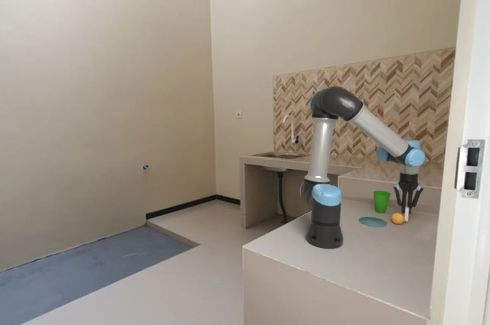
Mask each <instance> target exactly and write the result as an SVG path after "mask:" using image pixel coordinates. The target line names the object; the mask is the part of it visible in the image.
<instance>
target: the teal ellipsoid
mask: <svg viewBox="0 0 490 325" xmlns="http://www.w3.org/2000/svg"><path fill="white" fill-rule="evenodd" d="M358 222H359V223H360V224H362V225H365V226H368V227H375V228H382V227H386V226H387V225H388V223H387V221H385V220H384V219H381V218H378V217H374V216H373V217H372V216H362V217H360V218H358Z"/></svg>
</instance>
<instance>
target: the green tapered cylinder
mask: <svg viewBox="0 0 490 325" xmlns="http://www.w3.org/2000/svg"><path fill="white" fill-rule="evenodd" d="M372 193H373V202H374V210H375V213H377V214H386V213H387V212H386V211H387V208H388V204H389V200H390V197H391V195H392V193H391V192H389V191H385V190H373V191H372Z"/></svg>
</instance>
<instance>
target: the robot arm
mask: <svg viewBox="0 0 490 325" xmlns="http://www.w3.org/2000/svg"><path fill="white" fill-rule="evenodd" d="M309 107H310V110H311V120H312V121H313V131H312V139H311V148H310V154H309V155H310V156H309V162H308V171H307V174H305V176H304V177H303V182H302V183H301V185H300V187H299V195H300V198H301V200H302V201H303V203H305V204H306V205H307V206H308V207H309V208H311V218H310V219H311V221H310V224H309V226H308V228H307V232H306V237H305V238H306V242H308V243H309V244H310V245H312V246H315V247H317V248H321V249H322V248H323V249H338V248H340V247H342V246H343V245H344V234H343V231H342V228H341V225H340V224H341V211H342V210H341V209H342V200H343V199H342V191H341V189H340V188H339V187H338V186H336V185H333V184H332V185H331V184H330V181H331V180H330V179H329V177H328V170H329V164H330V156H331V150H332V141H333V134H334V127H335V124H336V123H337V122H338V121H339V118H340V119H341V120H343V121H345V122H346V123H347V122H349V123H351V124H353V125H354V126H355V128H358V129H359V130H360V131H361V132H362V133H364V134H365V135H366V136H367V137H368V138H370V139H371V140H372V141H374V142H375V143H376V144H377V145H378V147H376V151H375V157H376V159H377V161H379V162H383V163H386V162H390V163H394V164H397V165H398V164H399V165H400V168H399V169H400V170H399V171H400V172H399V178H398V180H399V181H398V183H397V184H396V185H393V186H392V188H393V190H394V194H395V197H396V202H397V205H398V206H399V207H401V214H402V215H403V216H404V222H409V215H411V213H412V208H415V207H416V206H417V204H418V201H419V199H420V197H421V194H422V192H423V191H424V190H425V189H424V187H422V186H420V185H419V182H418V181H419V168H420V166H422V165H423V164H424V162H425V160H426V154H425V152H424V151H423V150H421V149H422V148H421V141H420V140H418V139H403V138H402V137H400V136H399V135H398V134H397V133H396V132H395V131H394V130H392V129H391V128H390V127H389V126H387V125H386V124H385V123H384V122H382V120H381V119H379V118H378V117H377V116H376V115H375V114H373V113H372V112H371V111H369V110H368V109H367V108H366V107H365V104H364V102H363V101H362V100H361V99H360V98H358V97H357V96H356V95H355V94H353V93H352V92H351V91H349V90H348V89H346V88H344V87H342V86H338V85H333V86H330V87H326V88H322V89H319V90H317V91H316V92H315V93H314V94H313V95H312V97H311V98H310V102H309ZM400 189H401V190H402V191H401V194H402V195H400V191H399V190H400ZM415 190H416V191H415ZM414 191H415V194H414ZM413 194H414V196H413ZM406 205H407V206H406Z"/></svg>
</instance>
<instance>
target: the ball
mask: <svg viewBox="0 0 490 325" xmlns="http://www.w3.org/2000/svg"><path fill="white" fill-rule="evenodd" d="M390 219H391V221H392V222H393V224H395V225H401V224H403V223H404V222H405V221H404V216H403V214H402V213H400V212H394V213H393V214H392V215H391V218H390Z"/></svg>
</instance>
